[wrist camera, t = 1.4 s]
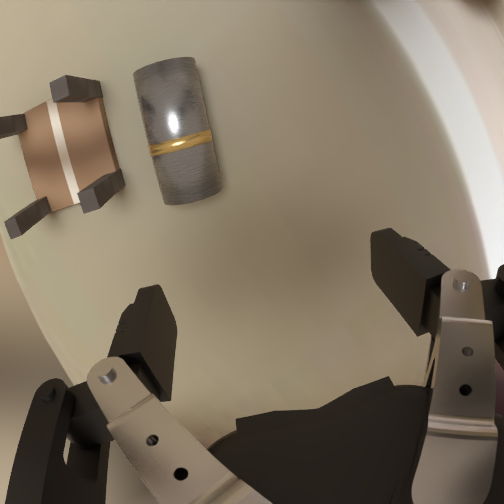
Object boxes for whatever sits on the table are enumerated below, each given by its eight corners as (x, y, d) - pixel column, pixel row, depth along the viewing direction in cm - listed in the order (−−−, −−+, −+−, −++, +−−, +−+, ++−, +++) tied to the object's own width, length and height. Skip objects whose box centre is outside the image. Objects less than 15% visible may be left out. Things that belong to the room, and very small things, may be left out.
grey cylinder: (140, 79, 23) (124, 72, 18) (197, 63, 23) (193, 52, 18) (167, 193, 27) (158, 210, 23) (222, 180, 28) (224, 194, 23)
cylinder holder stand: (20, 117, 22) (-23, 125, 15) (99, 80, 22) (65, 73, 15) (47, 211, 26) (11, 240, 20) (125, 185, 27) (100, 209, 20)
